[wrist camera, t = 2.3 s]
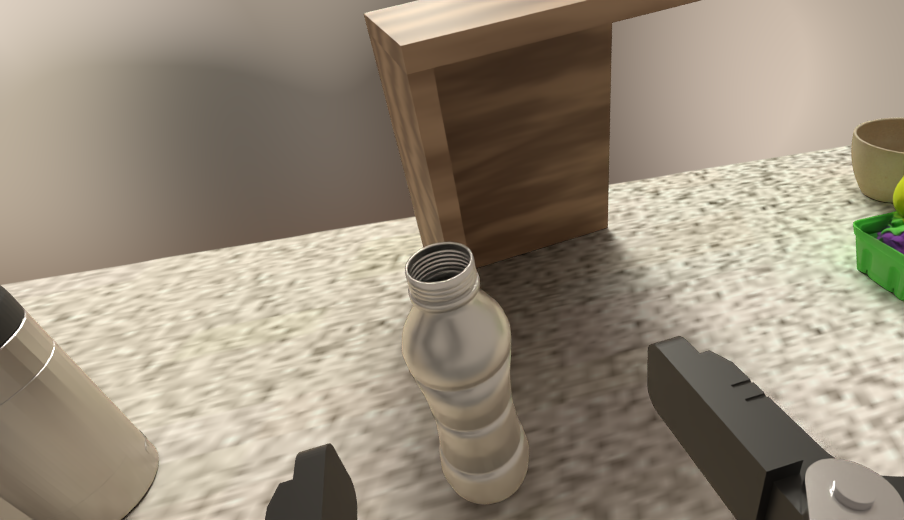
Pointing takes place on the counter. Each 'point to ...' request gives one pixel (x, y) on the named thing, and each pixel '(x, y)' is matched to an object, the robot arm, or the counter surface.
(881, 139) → the flower pot
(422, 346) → the plastic bottle
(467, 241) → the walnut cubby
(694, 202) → the counter surface
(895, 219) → the fruit basket
